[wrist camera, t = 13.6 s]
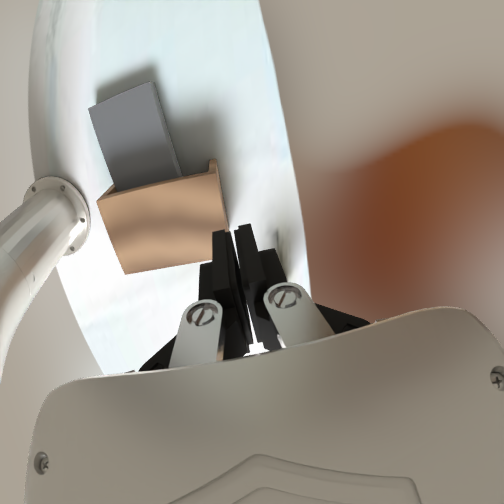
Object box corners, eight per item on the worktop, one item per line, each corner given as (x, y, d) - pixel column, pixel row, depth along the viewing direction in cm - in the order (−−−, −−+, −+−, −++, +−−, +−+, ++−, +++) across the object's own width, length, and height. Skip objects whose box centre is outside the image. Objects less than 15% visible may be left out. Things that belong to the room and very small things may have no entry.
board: (190, 198, 36) (188, 206, 33) (136, 214, 36) (131, 224, 33) (154, 82, 27) (149, 81, 24) (97, 107, 27) (88, 108, 25)
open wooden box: (229, 229, 38) (231, 256, 32) (136, 246, 38) (125, 274, 32) (216, 158, 33) (215, 173, 27) (115, 182, 32) (96, 201, 27)
